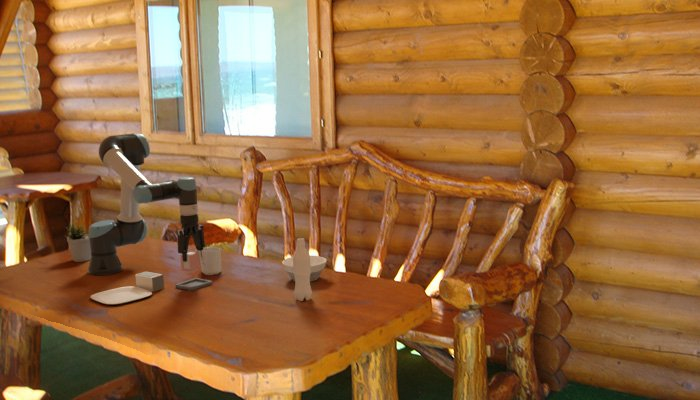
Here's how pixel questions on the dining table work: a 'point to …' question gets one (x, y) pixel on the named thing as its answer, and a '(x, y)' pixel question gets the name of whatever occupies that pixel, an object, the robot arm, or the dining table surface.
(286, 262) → the bowl
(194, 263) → the stub
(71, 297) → the dining table surface
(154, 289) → the grey-panelled beige block
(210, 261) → the mug
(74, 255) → the potted plant
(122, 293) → the plate
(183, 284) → the stub tray
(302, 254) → the water bottle
